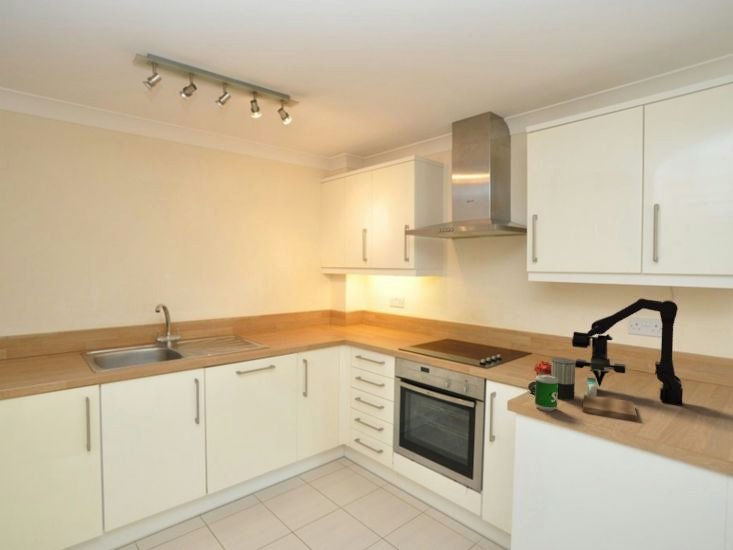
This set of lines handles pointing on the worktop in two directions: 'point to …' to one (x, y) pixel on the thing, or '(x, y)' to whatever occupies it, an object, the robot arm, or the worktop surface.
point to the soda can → (546, 392)
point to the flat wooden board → (609, 407)
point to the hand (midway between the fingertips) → (599, 385)
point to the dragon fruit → (543, 368)
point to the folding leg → (591, 386)
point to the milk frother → (562, 377)
